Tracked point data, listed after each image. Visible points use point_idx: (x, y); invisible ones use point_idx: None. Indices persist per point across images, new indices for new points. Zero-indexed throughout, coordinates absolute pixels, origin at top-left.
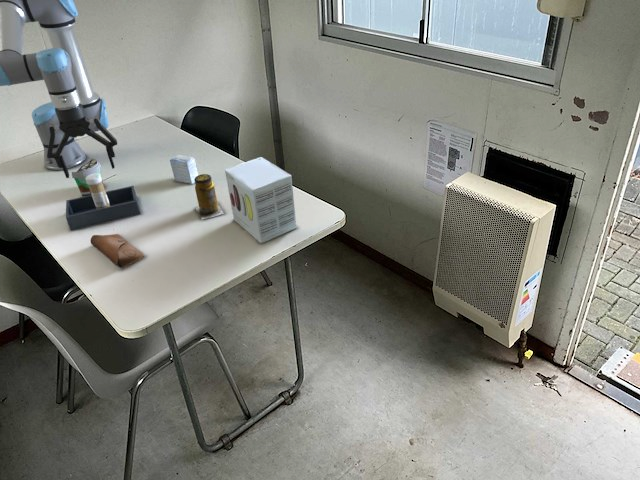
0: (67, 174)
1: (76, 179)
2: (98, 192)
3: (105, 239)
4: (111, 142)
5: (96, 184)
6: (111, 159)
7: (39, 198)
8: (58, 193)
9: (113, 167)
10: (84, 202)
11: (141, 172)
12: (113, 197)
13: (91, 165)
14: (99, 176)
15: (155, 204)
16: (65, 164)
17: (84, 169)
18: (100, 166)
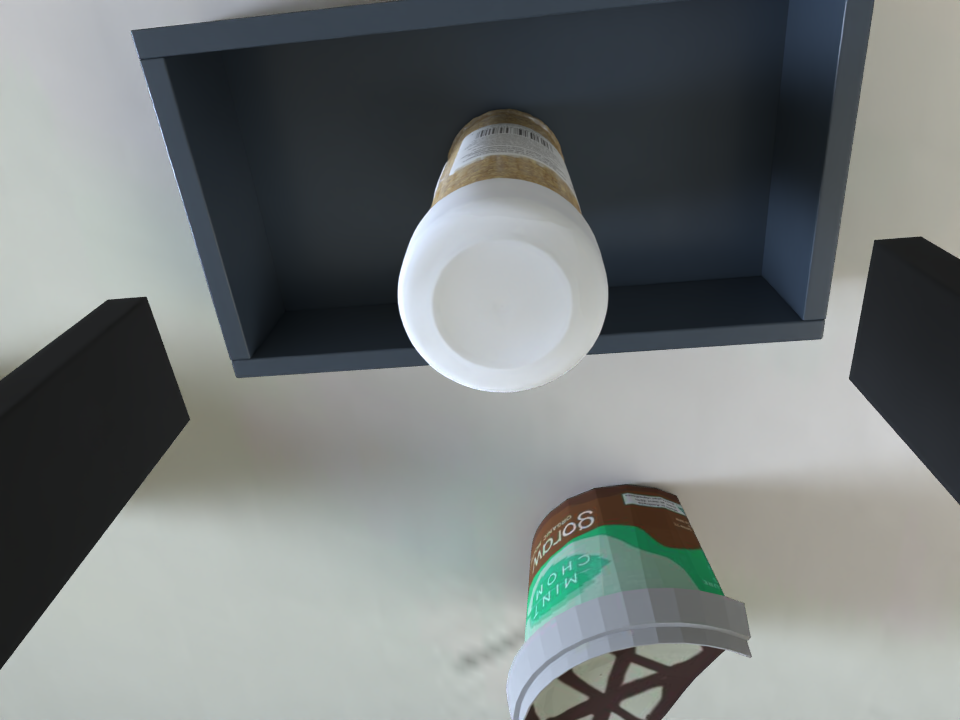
0: (916, 261)
1: (710, 591)
2: (486, 160)
3: None
4: None
5: (472, 184)
6: (5, 381)
7: (955, 570)
8: (827, 586)
9: (114, 305)
10: (665, 308)
11: (301, 639)
12: None
13: (576, 713)
14: (403, 276)
15: (100, 159)
16: (952, 494)
17: (635, 675)
18: (508, 690)
